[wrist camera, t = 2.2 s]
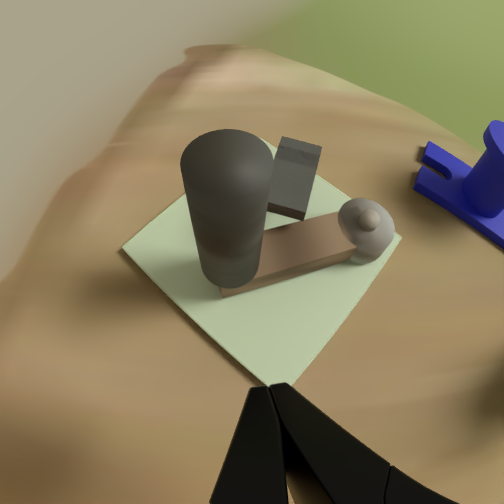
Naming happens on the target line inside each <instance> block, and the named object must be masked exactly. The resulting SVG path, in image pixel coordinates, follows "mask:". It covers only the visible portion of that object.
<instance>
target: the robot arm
mask: <svg viewBox="0 0 504 504" xmlns="http://www.w3.org/2000/svg"><path fill="white" fill-rule="evenodd" d="M287 485H288V487H289V490H290V493H291V495H292V498H293V500H294V503H295V504H459V503H457V502H454V501H452V500H450V499H448V498H446V497H444V496H442V495H440V494H438V493H436V492H434V491H432V490H430V489H429V488H427V487H425V486H423V485H422V484H420V483H418V482H417V481H415V480H414V479H412V478H411V477H409V476H408V475H406V474H405V473H403V472H402V471H400V470H399V469H397V468H396V467H395V466H390V463H389V462H387V461H386V460H385V459H383V458H382V457H381V456H379V455H378V454H377V453H375V452H374V451H372V450H371V449H370V448H368V447H367V446H366V445H364V444H363V443H362V442H360V441H359V440H358V439H357V438H355V437H354V436H353V435H351V434H350V433H349V432H347V431H346V430H345V429H344V428H342V427H341V426H340V425H338V424H337V423H336V422H335V421H333V420H332V419H331V418H330V417H328V416H327V415H326V414H325V413H323V412H322V411H321V410H320V409H318V408H317V407H316V406H315V405H313V404H312V403H311V402H310V401H309V400H307V399H306V398H305V397H304V396H303V395H301V394H300V393H299V392H298V391H297V390H295V389H294V388H293V387H292V386H291V385H289V384H288V383H286V382H282V383H276V384H271V385H269V387H268V386H266V385H263V386H256V387H251V388H250V389H249V391H248V394H247V397H246V400H245V403H244V406H243V409H242V412H241V415H240V418H239V421H238V424H237V426H236V429H235V432H234V435H233V438H232V441H231V444H230V446H229V449H228V452H227V455H226V457H225V460H224V463H223V466H222V468H221V471H220V474H219V477H218V479H217V482H216V485H215V487H214V490H213V493H212V495H211V498H210V501H209V503H210V504H289V502H288V491H287Z"/></svg>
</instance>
